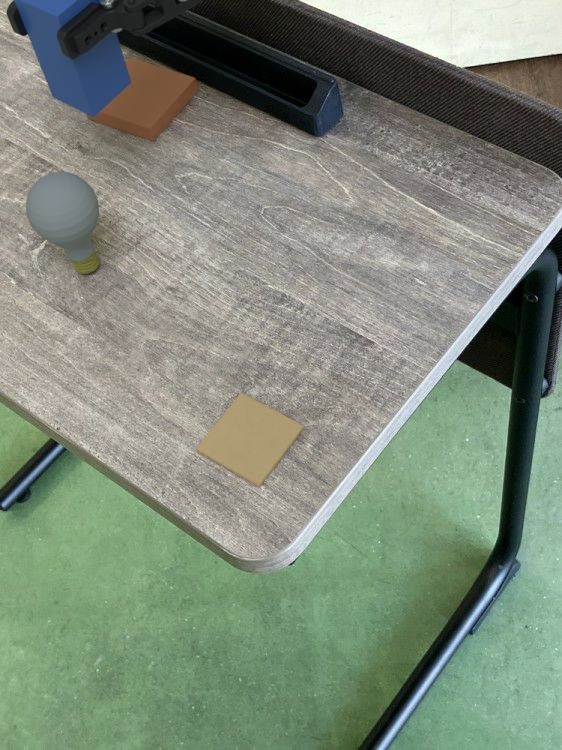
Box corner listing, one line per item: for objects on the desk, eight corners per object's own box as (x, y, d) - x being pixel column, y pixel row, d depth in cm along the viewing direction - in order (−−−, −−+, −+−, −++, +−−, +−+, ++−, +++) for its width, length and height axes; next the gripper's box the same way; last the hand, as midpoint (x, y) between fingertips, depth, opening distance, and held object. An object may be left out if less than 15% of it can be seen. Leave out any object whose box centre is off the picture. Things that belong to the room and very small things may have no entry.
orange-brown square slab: (134, 70, 93) (130, 57, 92) (198, 90, 91) (195, 77, 89) (88, 118, 90) (83, 106, 89) (153, 141, 87) (150, 128, 86)
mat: (242, 394, 71) (241, 392, 70) (304, 428, 69) (303, 425, 68) (196, 451, 68) (195, 448, 68) (259, 488, 66) (258, 485, 66)
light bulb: (48, 259, 80) (8, 172, 72) (109, 235, 81) (76, 147, 73) (66, 304, 77) (26, 219, 69) (129, 279, 78) (96, 192, 70)
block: (90, 64, 75) (55, -39, 68) (132, 82, 73) (100, -20, 66) (52, 97, 73) (12, -4, 66) (93, 117, 72) (57, 16, 64)
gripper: (112, -166, 73) (-51, -42, 66) (260, -117, 67) (97, 22, 60) (135, -74, 79) (-12, 47, 72) (272, -23, 73) (126, 113, 67)
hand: (39, 35), depth 66 cm, fingers closed on block, 4 cm apart
